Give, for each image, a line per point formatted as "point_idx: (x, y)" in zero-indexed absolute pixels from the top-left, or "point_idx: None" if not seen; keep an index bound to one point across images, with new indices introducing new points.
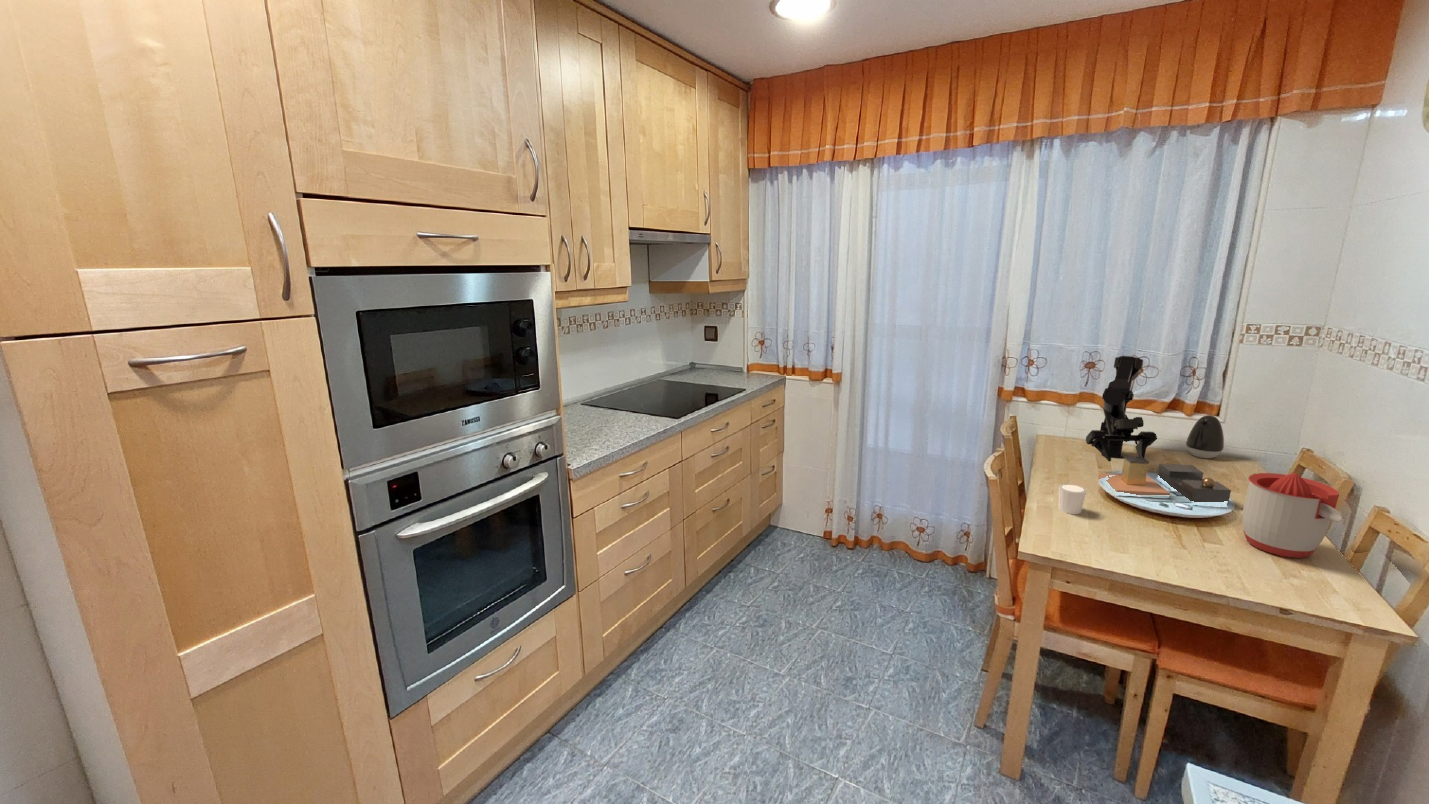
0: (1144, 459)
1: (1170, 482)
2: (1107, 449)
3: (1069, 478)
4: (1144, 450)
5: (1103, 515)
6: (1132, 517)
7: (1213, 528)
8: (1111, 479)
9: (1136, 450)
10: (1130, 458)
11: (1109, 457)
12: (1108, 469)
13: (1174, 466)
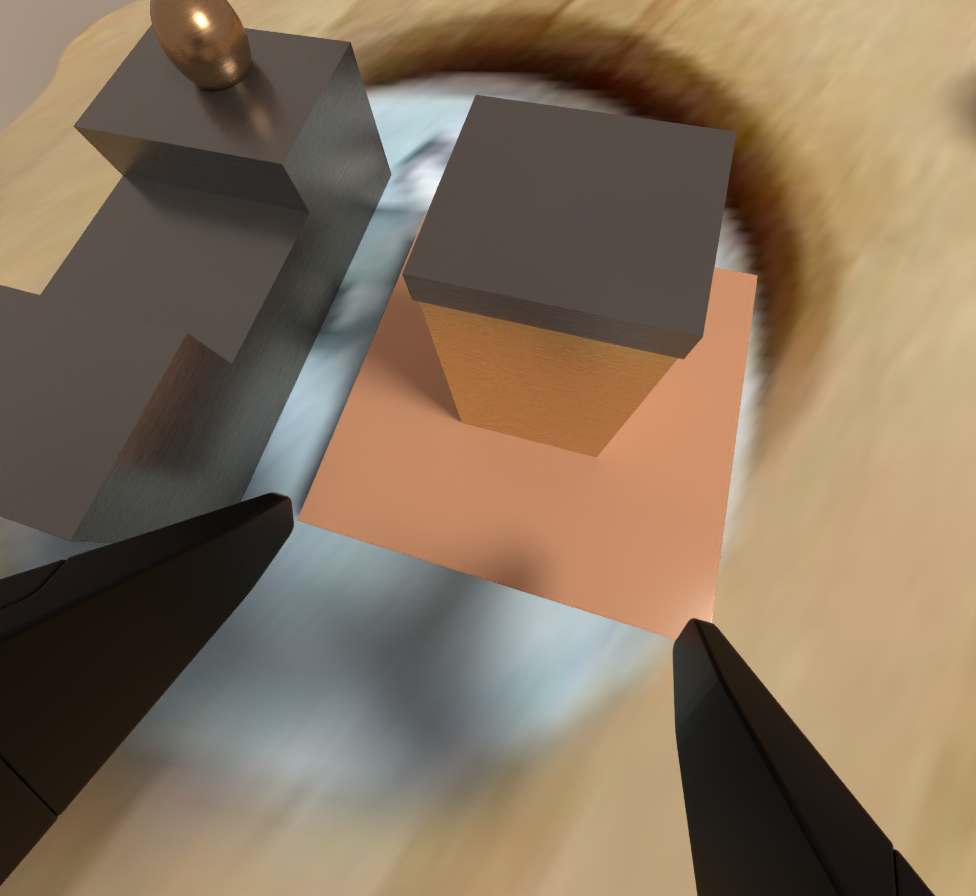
0: (470, 171)
1: (268, 350)
2: (853, 864)
3: (951, 692)
4: (43, 580)
5: (946, 103)
6: (796, 83)
7: (500, 3)
8: (675, 474)
9: (37, 839)
10: (667, 221)
11: (731, 659)
12: (415, 885)
13: (13, 441)
